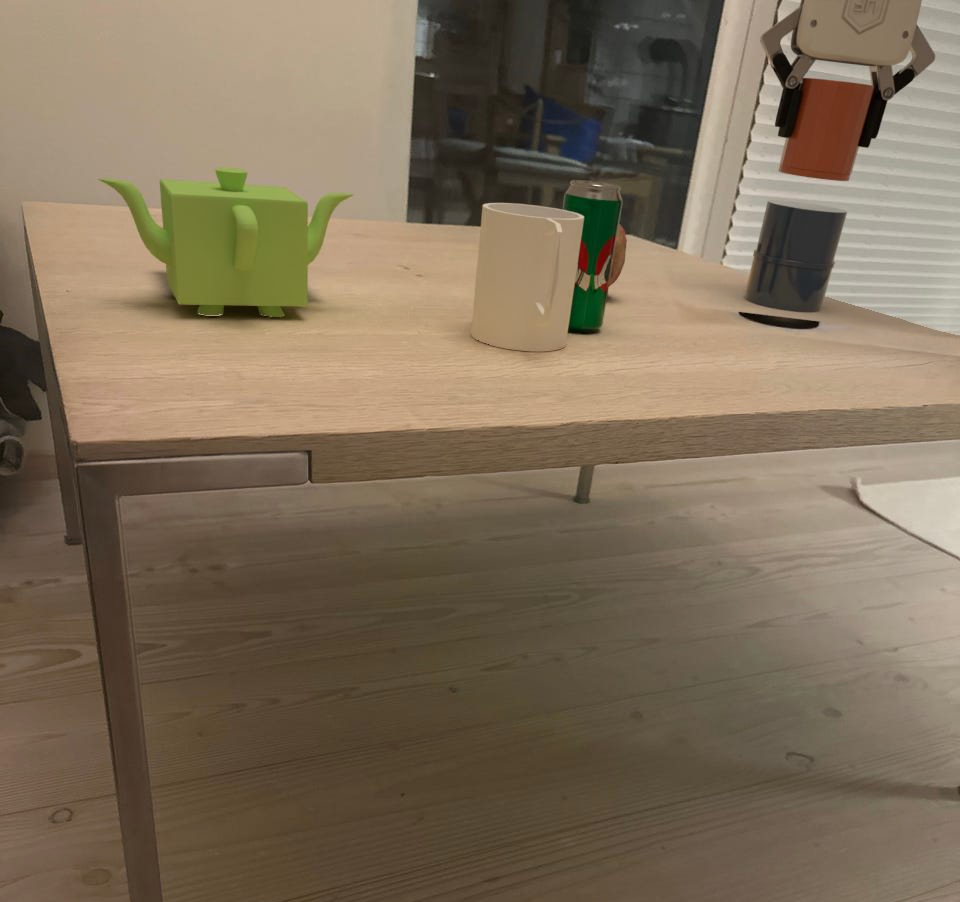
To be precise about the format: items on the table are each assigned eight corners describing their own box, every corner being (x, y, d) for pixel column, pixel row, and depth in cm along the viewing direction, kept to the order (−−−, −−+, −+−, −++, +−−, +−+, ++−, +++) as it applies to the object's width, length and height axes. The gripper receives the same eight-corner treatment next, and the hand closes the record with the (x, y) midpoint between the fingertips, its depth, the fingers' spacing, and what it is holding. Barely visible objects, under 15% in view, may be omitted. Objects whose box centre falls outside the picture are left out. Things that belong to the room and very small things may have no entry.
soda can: (592, 322, 88) (615, 182, 81) (608, 335, 83) (632, 189, 77) (541, 319, 86) (559, 177, 80) (554, 332, 82) (574, 184, 76)
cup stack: (808, 315, 102) (838, 206, 96) (826, 332, 95) (860, 216, 89) (732, 306, 102) (758, 197, 96) (745, 322, 95) (773, 205, 89)
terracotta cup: (838, 177, 94) (864, 86, 90) (856, 183, 88) (884, 86, 84) (772, 169, 94) (794, 78, 90) (786, 174, 88) (810, 77, 84)
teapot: (109, 305, 75) (93, 158, 69) (204, 282, 86) (197, 154, 80) (275, 337, 71) (273, 185, 66) (352, 309, 82) (355, 176, 77)
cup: (494, 362, 72) (509, 222, 66) (461, 324, 81) (472, 200, 76) (593, 366, 74) (615, 230, 68) (550, 328, 83) (566, 207, 78)
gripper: (792, -109, 77) (739, 132, 87) (999, -84, 77) (924, 155, 86) (775, -94, 84) (727, 129, 93) (966, -71, 83) (899, 150, 93)
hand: (822, 140), depth 90 cm, fingers closed on terracotta cup, 6 cm apart
